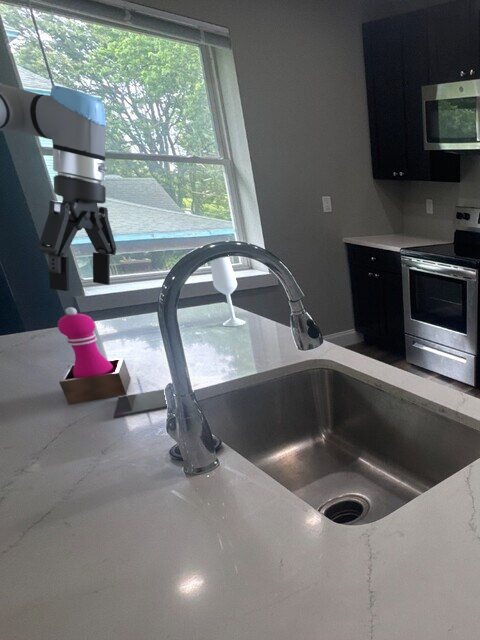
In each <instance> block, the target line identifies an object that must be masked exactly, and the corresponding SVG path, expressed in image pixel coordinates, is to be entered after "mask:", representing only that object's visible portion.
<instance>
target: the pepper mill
mask: <svg viewBox="0 0 480 640" xmlns="http://www.w3.org/2000/svg"><path fill="white" fill-rule="evenodd" d="M65 313H66V314H65V315H63V316H62V317H61V318H59V320H58V322H57V329H58V331H59V332H60V334H62V335H64V336H66V337H65V340H66V341H67V342H66V343H67V345H69V346H70V347H71V348H72V350H73V353H74V358H75V360H74V364H73V365H74V368H73V375H74V378H81V377H87V376H94V375H101V374H108V373H115V369H114V367H113V366H112V364H111V363H110V362H109V361H108V360H109V359H107V358H106V357H104V356H103V354H101V352H100V351H99V349H98V346H97V343H96V341H97V340H98V338H97V337H96V336H97V335H96V333H95V332H94V331H95V329H96V324H95V322H94V320H93V319H92V317H90V316H89V315H87V314H84V313H78V311H77V309H76V308H75V307H73V306H70V307H69V306H68V307H66V308H65Z"/></svg>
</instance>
